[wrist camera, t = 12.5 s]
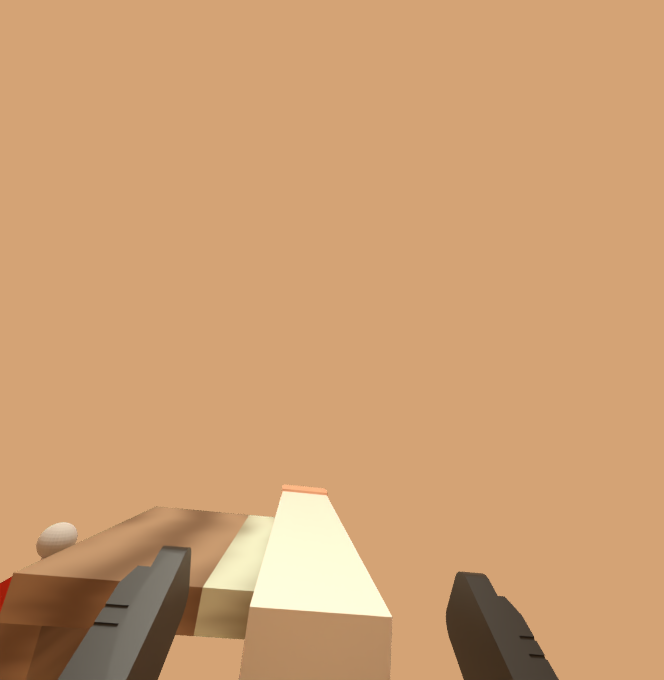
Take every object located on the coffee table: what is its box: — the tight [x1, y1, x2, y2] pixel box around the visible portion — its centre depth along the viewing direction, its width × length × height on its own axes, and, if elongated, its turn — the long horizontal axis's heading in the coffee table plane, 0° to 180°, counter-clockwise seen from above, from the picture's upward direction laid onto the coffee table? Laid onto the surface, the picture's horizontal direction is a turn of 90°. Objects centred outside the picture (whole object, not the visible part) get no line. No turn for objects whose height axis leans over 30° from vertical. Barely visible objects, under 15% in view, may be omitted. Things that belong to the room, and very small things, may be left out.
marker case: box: [239, 485, 392, 680], centre depth 21 cm, size 4×25×3 cm, turn 6°
